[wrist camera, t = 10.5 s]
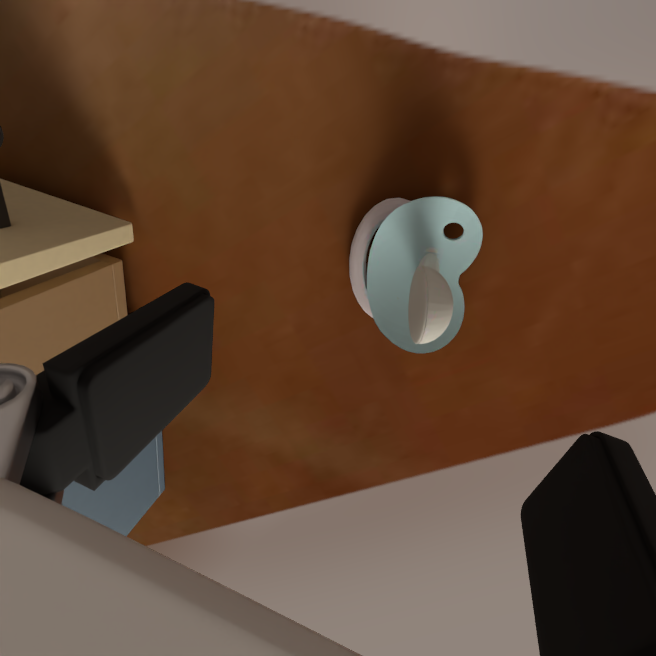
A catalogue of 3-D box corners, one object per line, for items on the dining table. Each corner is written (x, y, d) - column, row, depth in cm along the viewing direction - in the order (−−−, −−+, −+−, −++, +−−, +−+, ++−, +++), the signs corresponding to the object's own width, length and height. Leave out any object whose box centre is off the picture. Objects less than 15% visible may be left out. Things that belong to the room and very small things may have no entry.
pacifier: (348, 316, 21) (456, 337, 20) (307, 378, 16) (449, 413, 14) (358, 181, 18) (491, 192, 16) (309, 204, 12) (498, 225, 11)
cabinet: (13, 299, 30) (-176, 373, 21) (158, 357, 28) (16, 467, 19) (52, 437, 38) (-70, 530, 30) (165, 488, 36) (70, 605, 28)
